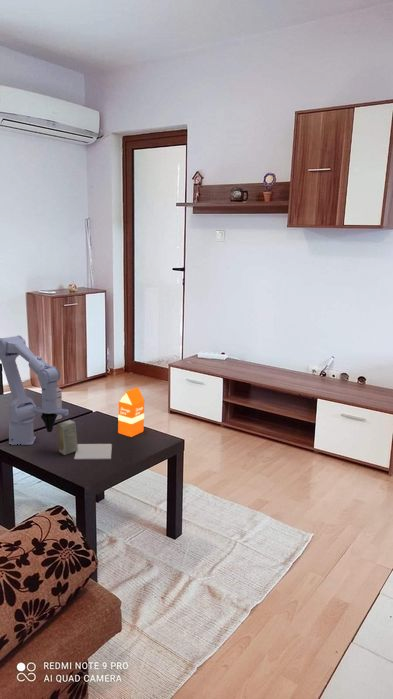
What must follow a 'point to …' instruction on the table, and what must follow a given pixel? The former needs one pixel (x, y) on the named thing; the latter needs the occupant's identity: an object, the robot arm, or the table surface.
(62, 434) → the skincare box
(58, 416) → the syrup box
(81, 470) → the table surface
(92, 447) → the mat
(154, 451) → the table surface
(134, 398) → the orange juice
